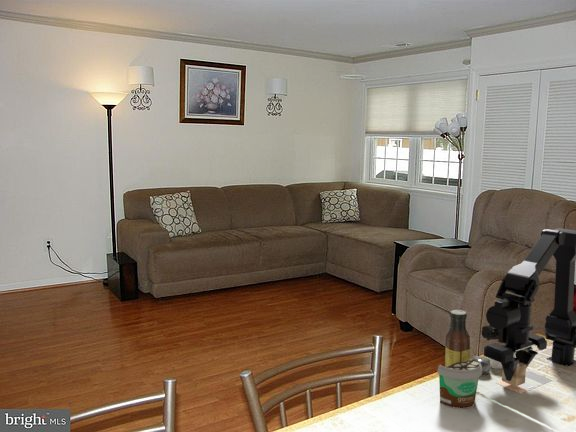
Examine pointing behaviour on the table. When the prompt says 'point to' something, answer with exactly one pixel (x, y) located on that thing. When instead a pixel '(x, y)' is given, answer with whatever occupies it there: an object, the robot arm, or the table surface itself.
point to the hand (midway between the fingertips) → (513, 378)
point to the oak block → (516, 375)
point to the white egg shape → (495, 364)
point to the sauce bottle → (457, 339)
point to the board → (527, 382)
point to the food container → (459, 383)
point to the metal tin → (484, 364)
